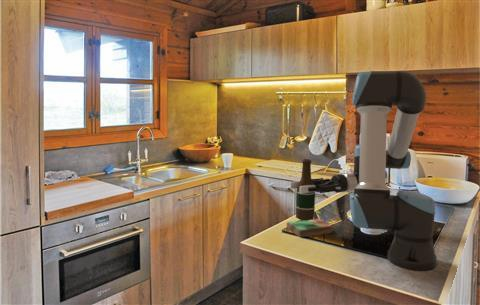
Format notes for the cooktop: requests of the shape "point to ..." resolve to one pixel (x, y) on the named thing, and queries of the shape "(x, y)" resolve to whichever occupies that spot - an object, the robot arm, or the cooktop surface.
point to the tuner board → (309, 227)
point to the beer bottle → (305, 194)
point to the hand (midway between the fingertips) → (295, 187)
